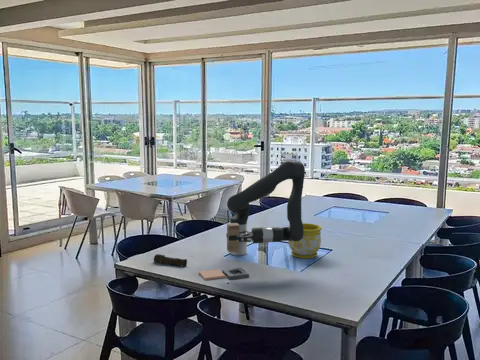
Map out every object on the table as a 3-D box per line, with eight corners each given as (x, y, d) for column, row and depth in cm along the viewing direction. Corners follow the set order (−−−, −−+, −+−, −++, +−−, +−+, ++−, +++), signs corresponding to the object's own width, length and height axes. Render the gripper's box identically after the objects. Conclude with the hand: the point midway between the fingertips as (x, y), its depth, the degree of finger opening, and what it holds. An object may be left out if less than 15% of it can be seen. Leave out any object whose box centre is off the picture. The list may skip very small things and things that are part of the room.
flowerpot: (284, 257, 247) (284, 228, 245) (292, 249, 264) (293, 221, 262) (316, 261, 241) (317, 231, 239) (323, 253, 258) (324, 224, 256)
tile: (199, 273, 220) (198, 271, 220) (218, 271, 224) (218, 269, 224) (204, 280, 211) (204, 277, 211) (225, 277, 215) (225, 275, 215)
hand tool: (187, 265, 233) (187, 257, 233) (183, 268, 229) (183, 259, 229) (156, 261, 241) (156, 252, 240) (152, 263, 237) (152, 254, 237)
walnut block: (226, 249, 219) (227, 223, 218) (237, 249, 220) (237, 222, 219) (228, 252, 215) (228, 225, 213) (239, 252, 216) (239, 225, 214)
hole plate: (222, 272, 222) (222, 269, 221) (241, 270, 225) (241, 267, 225) (229, 279, 212) (229, 276, 212) (249, 276, 216) (249, 273, 216)
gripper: (258, 224, 226) (224, 225, 223) (266, 231, 212) (230, 232, 209) (258, 239, 227) (224, 240, 223) (265, 246, 213) (230, 248, 210)
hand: (227, 236), depth 216 cm, fingers closed on walnut block, 5 cm apart
